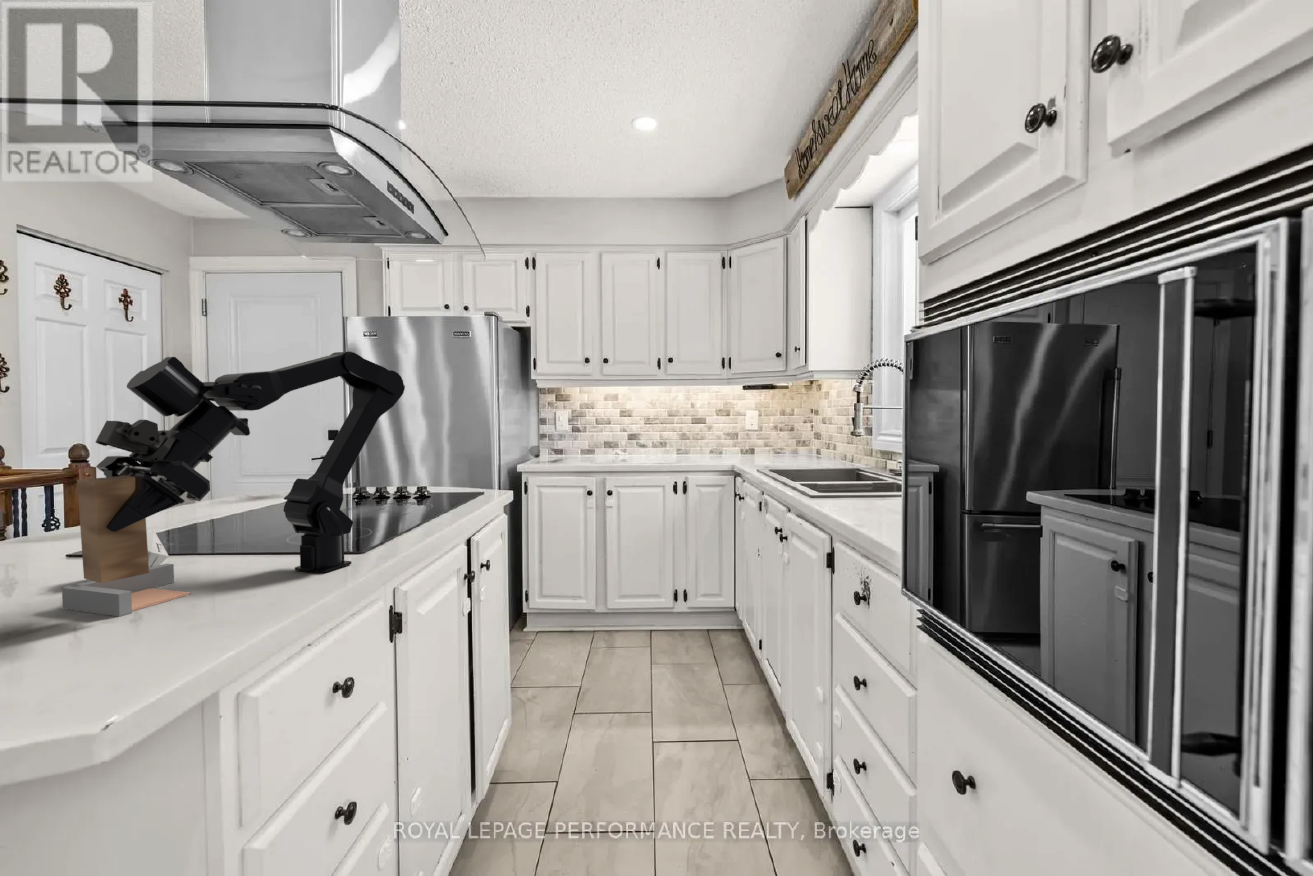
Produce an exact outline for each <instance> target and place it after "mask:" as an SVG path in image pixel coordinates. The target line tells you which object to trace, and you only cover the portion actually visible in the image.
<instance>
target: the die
mask: <svg viewBox="0 0 1313 876" xmlns="http://www.w3.org/2000/svg"><path fill="white" fill-rule="evenodd" d="M146 531H147V547H148V563H149V567H154V566H158V565H162V564H163V563H164V561H166V560H167V558H169V554H168V552H167V551H166V549H165V547H164V544H163V543H162V542H161V540H160V538H159V536H158V535H157V533H156V531H155V529H148V530H147V529H146Z"/></svg>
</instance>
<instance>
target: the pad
mask: <svg viewBox="0 0 1313 876" xmlns="http://www.w3.org/2000/svg"><path fill="white" fill-rule="evenodd" d="M131 596H132V612H134V611H137V610H141V609H144V608H148V607H152V606H154V605H158V604H163V603H165V602H169V601H172V600H175V599H179V598H182V597H185V596H190V592H189V591H178V590H171V589H162V588H161V589H160V588H149V589H145V590H142V591H138V592H134V593H131Z"/></svg>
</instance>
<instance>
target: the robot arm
mask: <svg viewBox="0 0 1313 876" xmlns="http://www.w3.org/2000/svg"><path fill="white" fill-rule="evenodd" d="M338 377H340V379H341V380H343V382H344V383H345V384H346V385H348V386H349V387H351V388H352V389H353V390H352V408H351V410H350V411H349V413H348V415H347V416H346V418H345V421H344V422H343V424H342V425H341V427H340V429H339V430H338V432H337V434H336V436H335V438H334V440H332V441H333V442H331V445H330V446H329V449H328V450H327V452H326V453H325V455H324V457H323V458H322V461H321V462H320V464H319V466H318V467H317V469H316V471H314V472H315V473H314V474H312V475H311V476H310V477H309V478H299V477H298V478H296V479H295V481H294V482H293V483H292V487H291V489H290V491H289V492H288V494H287V495H285V496H284V497H283V499H284V500H285V503H284V506H283V513H284V515H285V518H286V520H287V521H288V522H289V523H290V524H291V526H292V528H293V530H294V532H295V533H296V534H303V535H301V536H300V539H301V543H300V545H299V561H300V563H299V565H298V566H295V567H294V571H299V572H300V571H301V572H311V573H322V574H323V573H327V572H331V571H333V570H337V569H340V568H343V567H346V566H349V565H352V561H351V560H345V535H346V534H350V533H351V531H352V529H353V528H352V527H353V525H354V521H353V519H351V517H349V515H347V514H346V513H344V512H343V511H342V510H341V508H342V504H344V503H343V502H344V483H345V481H346V479H347V477H348V476H349V474H350V472H351V470H352V468H353V466H354V465H355V463H356V461H357V459H358V457H359V455H360V453H361V451H362V450H363V448H364V446H365V444H366V442H367V440H368V438H369V437H370V435H371V434H372V431H373V430H374V429H375V428H374V427H375V425H376V424H377V421H379V419H380V418H381V417H382V416H383V415H384V414H385V413H387V412H388V411H389V410H390V409H392V408H393V407H394V406H395V405H396V404H397V403H398V401H399V400H400V399H401V398H402V396H403V395H404V393H405V388H406V386H405V384H404V380H403V378H402V376H401V375H400V374H399V373H398V372H397V371H394V370H391V369H390V370H389V369H388V368H386V367H384V366H383V365H380V364H377V363H375V362H373V361H370V360H368V359H366V358H364V357H362V356H360V354H358V353H355V352H354V351H341V352H340V351H339V352H333V353H331V354H329V355H325V356H321V357H318V358H314V359H310V360H307V361H303V362H299V363H296V364H291V365H288V366H284V367H281V368H277V369H273V370H267V371H266V370H265V371H253V372H239V373H228V374H222V375H221V376H218V377H216V379H215V380H214V381H203V382H202V381H201V380H200V379H199V378H198V377H197V376H196V375H194V374H193V373H192V372H191V371H190V370H189V369H187V368H186V367H185V365H184V364H183V363H182V362H181V361H180V360H179V359H178V358H177V357H176V356H166V357H165V358H163V359H162V360H161V361H159V362H157V363H155V364H153V365H150V366H149V367H147V368H145V370H140V371H139V372H137V373H136V374H135V375H134V376H133V377H132V378H131V379H130V380H129V381H128V382H127V384H126V388H127V389H128V390H129V391H131V392H132V393H133V394H135V395H136V396H137V397H139V398H140V399H141V400H142V401H144V403H146V404H147V405H149V406H150V407H151V408H152V409H154V410H155V411H156V412H157V413H159V414H160V415H162V416H163V417H169V416H172V415H174V416H175V417H177V418H178V417H182V416H183V417H182V418H180V419H179V421H178V422H176V424H174V425H173V426H172V427H171V428H170V429H169V430H167V429H166V430H165V429H164V430H163V429H162V430H159V426H158V423H157V422H154V421H152V420H147V419H138V420H137V421H135V422H134V423H132V424H131V423H130V422H126V421H121V420H105V423H104V425H103V427H102V429H101V430H100V432H99V435H98V436H97V437H96V439H95V443H96V444H98V445H101V446H103V447H106V446H109V447H112V448H116V449H120V450H122V451H124V452H125V451H126V452H130V454H129V455H108V456H106V457H105V458H104V459H102V460H101V461H100V462H99V463H98V464H97V465H95V467H96V468H97V469H98V470H100V471H101V472H103V475H104V476H105V477H116V476H134V477H135V491H134V492H133V493H132V495H131V496H130V497H129V498H128V499H127V501H126V502H125V503H124V504H123V506H122V507H121V508H120V509H119V511H118V512H117V513H116V514H115V516H114V517H113V518H112V520H111V521H110V522H109V524H108V525H107V528H108V529H109V530H111V531H113V532H116V531H118V530H120V529H122V528H125V527H127V526H129V525H131V524H133V523H136V522H138V521H140V520H142V519H144V518H150V517H151V516H153V515H155V514H158V513H161V512H163V511H165V510H167V509H169V508H172V507H175V506H177V505H182V504H184V503H185V500H184V499H183V498H182V496H183V495H185V493H186V496H185V497H186V498H187V499H188V500H190V501H195V502H197V501H198V502H201V501H202V500H203V499H204V498H205V497H206V496H207V495H208V493H209V492H210V491H211V483H210V482H211V481H210V480H209V479H207V477H205V476H204V475H202V474H201V473H199V472H198V471H197V470H195V469H196V468H197V467H198V466H199V465H200V463H209V462H210V461H211V460H212V459H213V458H214V456H213V455H211V454H210V453H211V452H213V451H214V449H216V448H217V446H219V444H220V443H221V442H223V440H225V439H226V437H228V435H229V434H233V435H234V436H246V437H247V436H250V435H251V431H250V430H251V429H250V427H249V424H248V423H249V418H247V417H238V416H237V415H236V414H234V413H233V412H232V411H235V412H236V411H238V412H239V411H240V412H241V411H242V412H243V411H244V412H245V411H249V412H250V411H251V412H252V411H253V412H254V411H258V410H261V409H262V410H263V408H265V407H268V406H269V405H272V404H273V403H275V402H277V401H279V400H280V399H281V398H282V397H283V396H284V395H286V394H288V393H290V392H294V391H295V390H296V391H297V390H299V389H302V388H305V387H308V386H312V385H316V384H318V383H323V382H326V381H328V380H332V379H335V378H338ZM214 402H215V403H214ZM216 404H217V405H216Z"/></svg>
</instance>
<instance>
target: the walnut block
mask: <svg viewBox="0 0 1313 876" xmlns="http://www.w3.org/2000/svg"><path fill="white" fill-rule="evenodd" d="M76 486H77V499H78V511H79V513H78V514H79V525H80V526H79V527H80V539H81V554H82V569H83V579H85V580H88V581H95V582H98V583H105V582H110V581H115V580H119V579H124V578H129V577H133V576H138V575H143V574H147V573H149V563H148V547H147V531H146V530H147V519H146V518H144V519H142V520H140V521H138V522H136V523H133V524H131V525H129V526H127V527H125V528H122V529H120V530H118V531H116V532H113V531H111V530H109V529H108V528H107V525H108V524H109V522H110V521H111V520H112V518H113V517H114V516H115V514H116V513H117V512H118V511H119V509H120V508H121V507H122V506H123V504H124V503H125V502H126V501H127V499H128V498H129V497H130V496H131V495H132V493H133V492H134V491H135V477H134V476H116V477H106V476H105V477H96V478H86V479H77V480H76Z"/></svg>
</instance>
